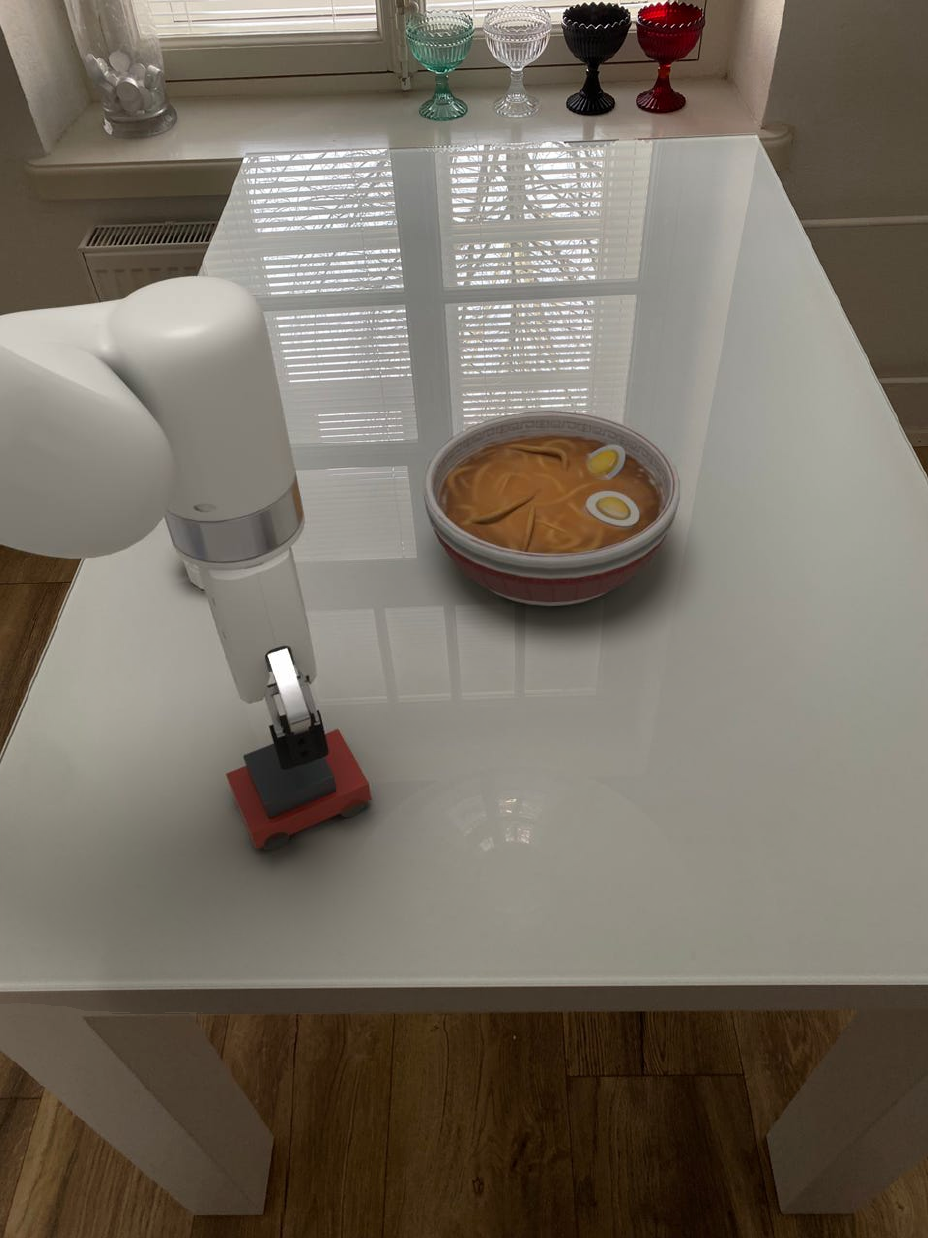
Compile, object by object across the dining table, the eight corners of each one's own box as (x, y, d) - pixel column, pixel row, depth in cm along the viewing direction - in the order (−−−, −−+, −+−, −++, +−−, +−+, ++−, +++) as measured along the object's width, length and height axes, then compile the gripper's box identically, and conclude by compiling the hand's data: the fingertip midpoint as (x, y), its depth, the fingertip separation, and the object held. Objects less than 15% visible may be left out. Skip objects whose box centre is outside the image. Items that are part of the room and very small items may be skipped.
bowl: (698, 525, 95) (712, 439, 89) (620, 678, 81) (630, 589, 74) (490, 472, 103) (489, 390, 96) (385, 602, 89) (375, 516, 82)
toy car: (246, 818, 66) (220, 758, 70) (258, 857, 69) (233, 797, 73) (366, 768, 69) (335, 712, 73) (373, 807, 72) (342, 752, 76)
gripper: (143, 445, 59) (207, 642, 70) (196, 624, 47) (261, 825, 59) (263, 416, 60) (305, 613, 72) (342, 581, 49) (378, 784, 60)
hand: (286, 708), depth 65 cm, fingers open, 9 cm apart
